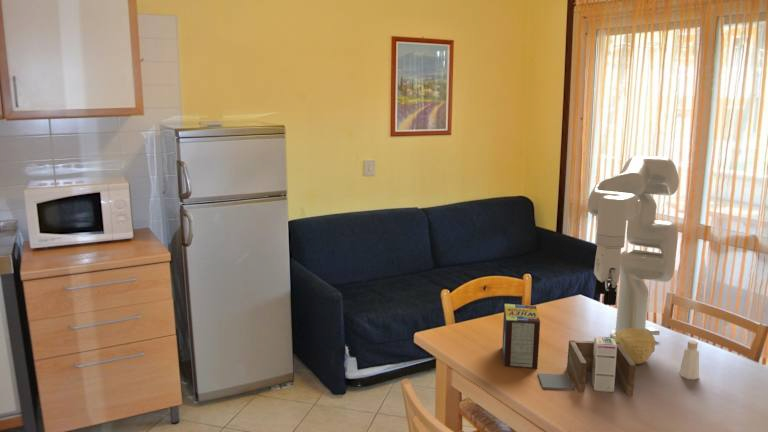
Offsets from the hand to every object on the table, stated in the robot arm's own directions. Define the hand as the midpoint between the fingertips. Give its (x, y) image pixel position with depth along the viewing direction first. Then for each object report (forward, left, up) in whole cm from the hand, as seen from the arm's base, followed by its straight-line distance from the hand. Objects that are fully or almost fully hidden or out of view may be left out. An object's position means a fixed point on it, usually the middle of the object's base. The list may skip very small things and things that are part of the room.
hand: (605, 299), depth 175 cm
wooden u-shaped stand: (-1, -3, -27) cm, 27 cm away
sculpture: (-16, -20, -27) cm, 37 cm away
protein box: (+20, -18, -27) cm, 38 cm away
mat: (+12, -1, -27) cm, 29 cm away
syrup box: (-1, +1, -27) cm, 27 cm away
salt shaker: (-30, -10, -27) cm, 41 cm away
